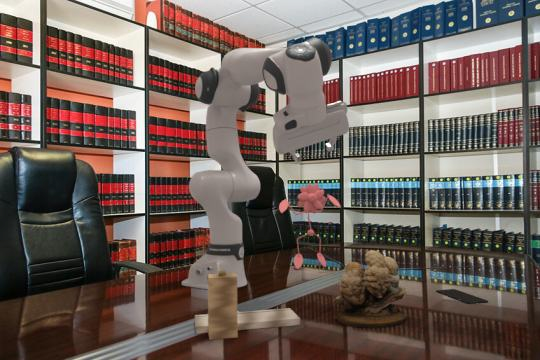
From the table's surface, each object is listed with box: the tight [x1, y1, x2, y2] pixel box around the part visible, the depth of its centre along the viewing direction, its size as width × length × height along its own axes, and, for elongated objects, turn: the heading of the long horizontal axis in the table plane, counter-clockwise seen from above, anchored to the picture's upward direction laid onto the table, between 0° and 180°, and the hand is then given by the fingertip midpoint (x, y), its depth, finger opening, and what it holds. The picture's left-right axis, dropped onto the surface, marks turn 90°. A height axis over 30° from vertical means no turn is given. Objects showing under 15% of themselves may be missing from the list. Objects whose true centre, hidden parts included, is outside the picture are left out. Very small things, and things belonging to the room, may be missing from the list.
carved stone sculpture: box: [334, 249, 407, 329], centre depth 100 cm, size 18×12×17 cm, turn 103°
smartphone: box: [435, 288, 489, 305], centre depth 120 cm, size 7×1×15 cm
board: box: [194, 307, 301, 335], centre depth 98 cm, size 24×9×2 cm, turn 103°
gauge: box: [207, 270, 239, 340], centre depth 93 cm, size 6×12×14 cm, turn 13°
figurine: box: [278, 183, 342, 274], centre depth 165 cm, size 15×26×35 cm, turn 105°
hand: (314, 155), depth 111 cm, fingers open, 8 cm apart
